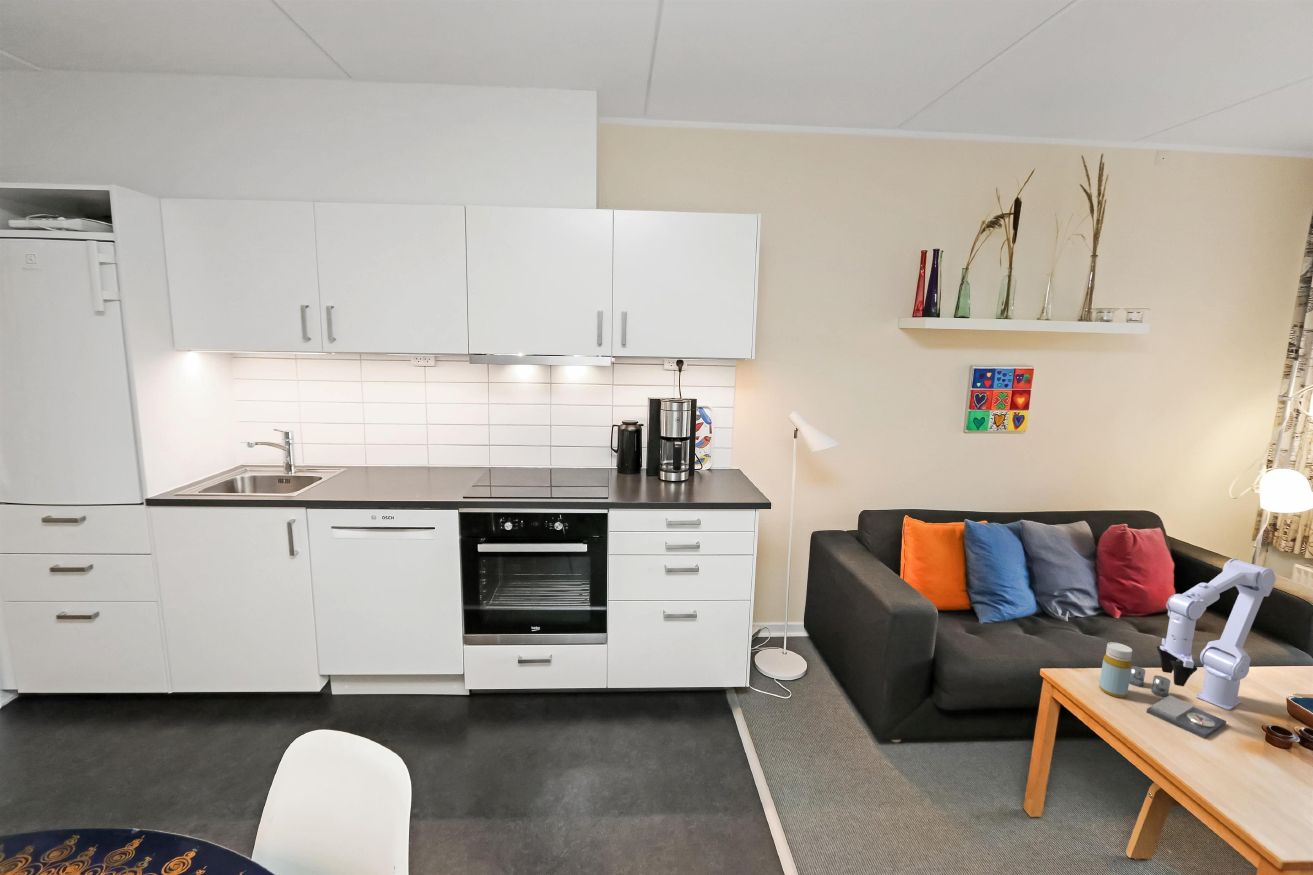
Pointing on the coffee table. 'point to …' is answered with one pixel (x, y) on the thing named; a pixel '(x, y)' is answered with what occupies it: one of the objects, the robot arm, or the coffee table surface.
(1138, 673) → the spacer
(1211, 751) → the coffee table surface
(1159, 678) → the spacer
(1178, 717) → the scale
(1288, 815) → the coffee table surface
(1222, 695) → the robot arm
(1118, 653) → the bottle
